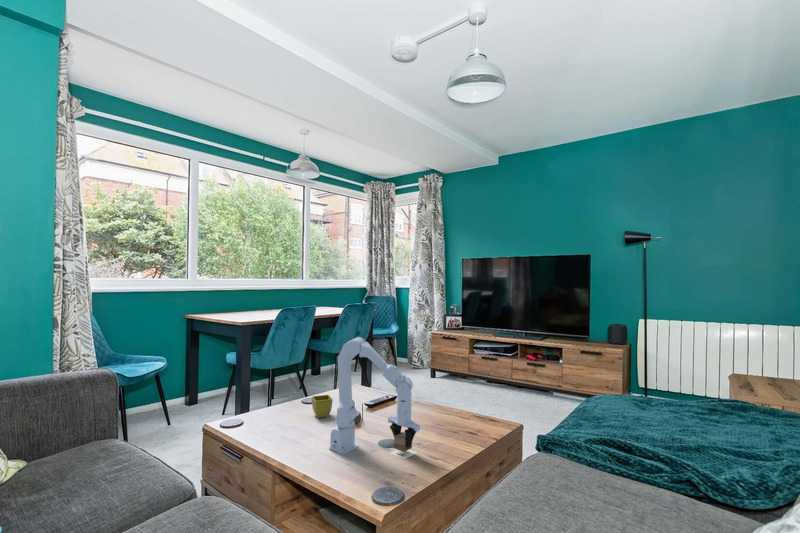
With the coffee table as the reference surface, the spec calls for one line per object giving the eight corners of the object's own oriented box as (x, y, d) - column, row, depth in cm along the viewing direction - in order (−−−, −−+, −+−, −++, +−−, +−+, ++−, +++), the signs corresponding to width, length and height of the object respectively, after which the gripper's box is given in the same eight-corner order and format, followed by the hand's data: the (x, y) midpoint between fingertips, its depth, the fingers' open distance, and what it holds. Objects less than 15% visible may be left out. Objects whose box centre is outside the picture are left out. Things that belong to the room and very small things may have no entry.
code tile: (405, 460, 150) (405, 459, 150) (388, 454, 155) (388, 453, 156) (417, 453, 157) (417, 452, 157) (401, 447, 162) (401, 446, 162)
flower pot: (310, 414, 199) (311, 396, 200) (327, 412, 203) (328, 394, 203) (314, 420, 191) (315, 401, 192) (332, 417, 195) (333, 399, 195)
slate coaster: (390, 450, 158) (390, 449, 158) (373, 444, 164) (373, 443, 164) (404, 443, 165) (404, 442, 165) (387, 438, 171) (387, 437, 171)
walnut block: (404, 452, 153) (404, 438, 153) (394, 448, 156) (394, 435, 156) (411, 448, 157) (412, 434, 157) (401, 444, 160) (402, 431, 160)
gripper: (424, 411, 155) (424, 447, 155) (396, 403, 164) (395, 437, 164) (414, 416, 150) (413, 452, 149) (384, 407, 159) (384, 442, 158)
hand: (403, 445), depth 156 cm, fingers closed on walnut block, 5 cm apart
